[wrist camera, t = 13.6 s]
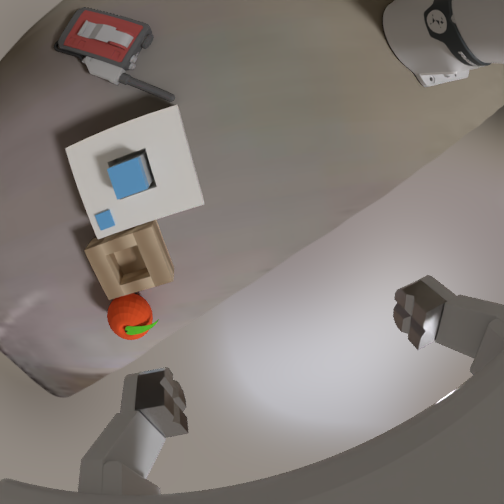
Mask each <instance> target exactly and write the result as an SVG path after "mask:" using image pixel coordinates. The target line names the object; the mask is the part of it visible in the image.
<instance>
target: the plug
mask: <svg viewBox="0 0 504 504" xmlns="http://www.w3.org/2000/svg"><path fill="white" fill-rule="evenodd" d="M107 171H108V174H109V177H110V180H111V183H112V186H113V189H114V192H115V195H116V198H117V200H118V199H121V198H124V197H126V196H129V195H132V194H135V193H138V192H140V191H143V190H146V189H148V187H149V186H150V184H151V183H152V181H153V180H154V176H153V173H152V169H151V166H150V163H149V159H148V156H147V153H146V152H145V153H142V154H139V155H136V156H134V157H131V158H128V159H125V160H123V161H121V162H119V163H117V164H115V165H113V166H112V167H110V168H108V169H107Z"/></svg>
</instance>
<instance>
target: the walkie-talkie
mask: <svg viewBox="0 0 504 504" xmlns="http://www.w3.org/2000/svg"><path fill="white" fill-rule="evenodd" d="M152 40H153V35H152V31H151V29H150V26H149V25H148V24H146V23H143V22H139V21H136V20H133V19H130V18H126V17H123V16H118V15H115V14H111V13H108V12H104V11H103V12H102V11H101V10H100V11H98V10H95V9H92V8H86V7H84V8H81V9H79V10H77V11H76V13H75V14H74V15H73V17H72V19H71V20H70V22H69V23H68V25H67V26H66V28H65V30H64V31H63V33H62V35H61V37H60V38H59V41H57V42H56V43H55V45H54V49H55V50H56V51H58V52H62V53H65V54H69V55H72V56H75V57H78V58H80V60H81V61H82V63H84V64H86V66H87V68H88V70H89V72H90V74H92V75H94V76H97V77H99V78H102V79H105V80H108V81H109V82H110V83H112V84H115V85H118V84H119V82H120V83H123V84H125V85H126V84H128V85H131V86H133V87H136V88H138V89H141V90H143V91H146V92H148V93H151V94H153V95H155V96H158V97H160V98H162V99H165V100H167V101H169V102H172V101H173V100H174V99H175V96H174V94H171V93H169V92H167V91H164V90H162V89H160V88H157V87H155V86H152V85H150V84H147V83H145V82H142V81H140V80H137V79H135V78H132V77H131V76H130V75H128V74H125V71H126V70H129V69H132V70H133V69H134V68H135V66H136V64H134V63H135V62H136V60H137V56H138V54H139V52H140V51H141V49H142V48H144V49H146V48H148V47H149V45H150V44H151V42H152ZM58 45H59V47H60V49H58ZM81 55H82V56H85V57H86V58H83V57H82V56H81Z"/></svg>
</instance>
